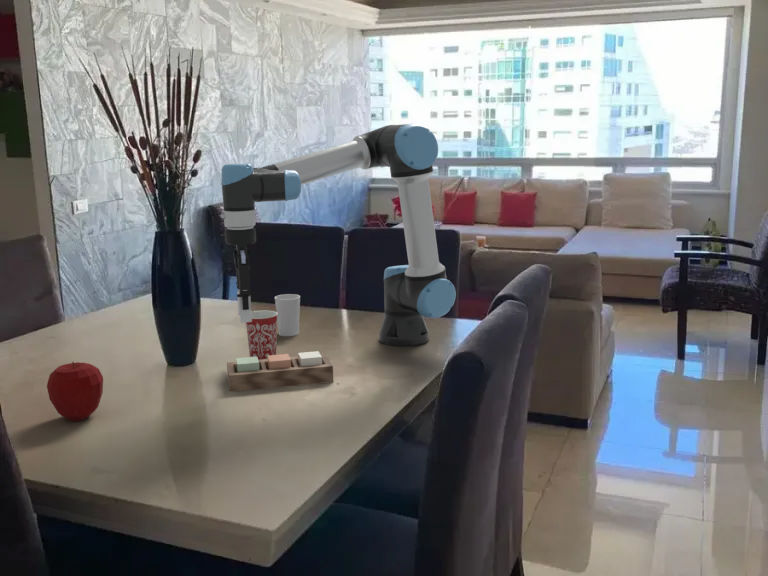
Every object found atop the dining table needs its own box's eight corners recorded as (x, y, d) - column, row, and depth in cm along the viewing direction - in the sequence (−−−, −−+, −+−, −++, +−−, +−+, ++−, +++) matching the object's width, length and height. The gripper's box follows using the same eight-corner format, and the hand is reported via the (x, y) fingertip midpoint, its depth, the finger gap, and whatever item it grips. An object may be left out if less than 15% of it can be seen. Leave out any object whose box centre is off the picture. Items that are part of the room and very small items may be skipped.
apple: (115, 417, 169) (110, 360, 166) (63, 431, 161) (57, 373, 158) (93, 404, 177) (87, 350, 175) (42, 417, 170) (36, 361, 167)
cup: (297, 337, 233) (296, 299, 231) (273, 336, 234) (271, 299, 232) (304, 330, 241) (302, 294, 238) (280, 330, 242) (278, 293, 239)
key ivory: (318, 364, 197) (318, 351, 197) (322, 370, 192) (321, 356, 192) (298, 366, 196) (298, 352, 195) (301, 372, 191) (300, 358, 190)
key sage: (257, 369, 194) (257, 356, 193) (259, 376, 188) (259, 362, 188) (236, 371, 192) (236, 358, 192) (238, 378, 187) (237, 364, 186)
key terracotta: (288, 366, 196) (288, 353, 195) (291, 373, 190) (290, 359, 190) (268, 368, 194) (267, 355, 194) (270, 375, 189) (269, 361, 188)
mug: (276, 365, 205) (274, 317, 202) (244, 365, 205) (241, 318, 203) (284, 352, 217) (282, 307, 215) (253, 352, 218) (251, 307, 215)
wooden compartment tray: (325, 368, 201) (325, 354, 200) (333, 381, 191) (332, 366, 190) (227, 378, 195) (226, 362, 194) (229, 391, 184) (228, 375, 184)
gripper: (222, 223, 191) (227, 310, 196) (226, 233, 172) (232, 329, 177) (252, 222, 193) (256, 308, 198) (259, 231, 174) (263, 326, 179)
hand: (245, 318), depth 187 cm, fingers open, 7 cm apart
